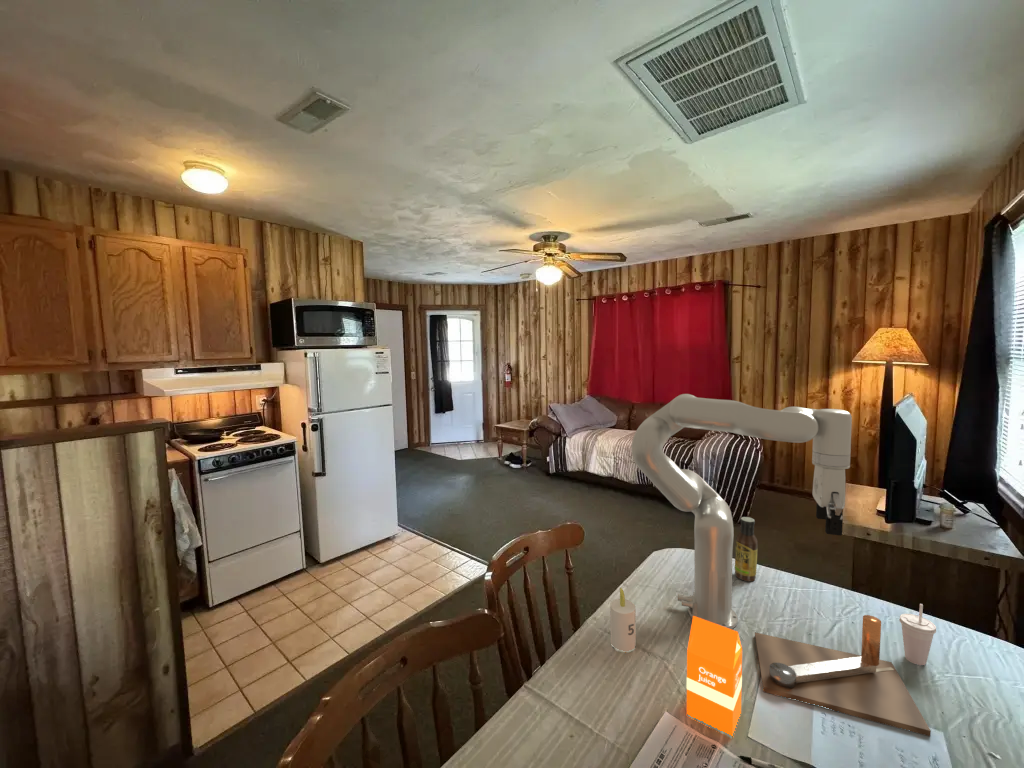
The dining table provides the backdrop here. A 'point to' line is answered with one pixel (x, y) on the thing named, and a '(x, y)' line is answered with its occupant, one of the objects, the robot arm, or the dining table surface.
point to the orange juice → (714, 675)
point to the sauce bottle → (746, 551)
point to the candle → (623, 623)
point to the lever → (834, 661)
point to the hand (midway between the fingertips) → (828, 526)
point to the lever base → (842, 685)
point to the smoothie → (917, 636)
